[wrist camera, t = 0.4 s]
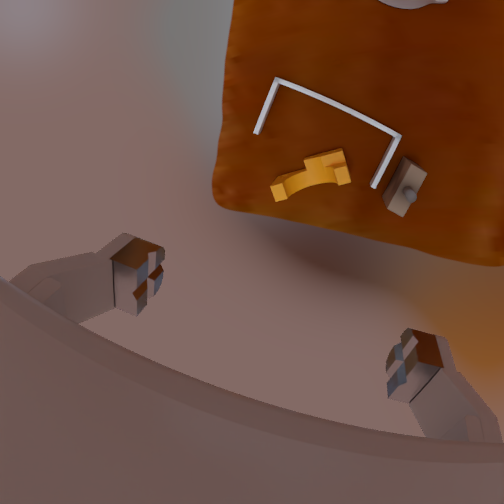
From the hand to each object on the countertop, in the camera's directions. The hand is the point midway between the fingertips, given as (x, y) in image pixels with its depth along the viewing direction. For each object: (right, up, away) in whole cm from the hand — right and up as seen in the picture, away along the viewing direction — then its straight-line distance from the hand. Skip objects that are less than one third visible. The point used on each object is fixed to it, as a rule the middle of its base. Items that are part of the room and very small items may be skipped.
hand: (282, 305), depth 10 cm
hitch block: (+24, +13, +39) cm, 47 cm away
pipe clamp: (+9, +16, +42) cm, 46 cm away
